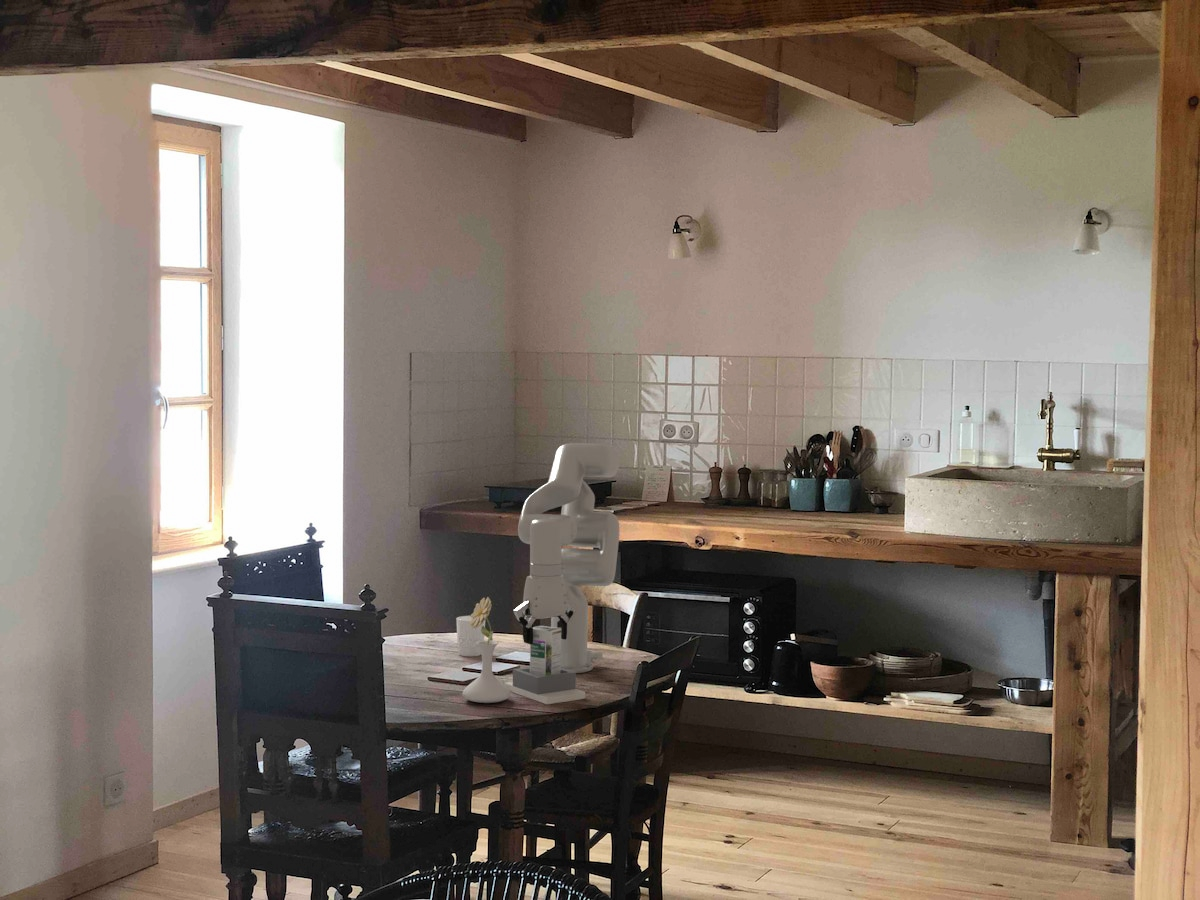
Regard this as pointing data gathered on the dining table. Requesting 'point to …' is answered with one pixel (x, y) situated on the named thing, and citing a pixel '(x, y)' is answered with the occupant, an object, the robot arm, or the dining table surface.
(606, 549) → the robot arm
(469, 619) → the white cup
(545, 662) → the syrup box
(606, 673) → the dining table surface
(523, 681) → the socket caddy
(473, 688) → the flower in vase
